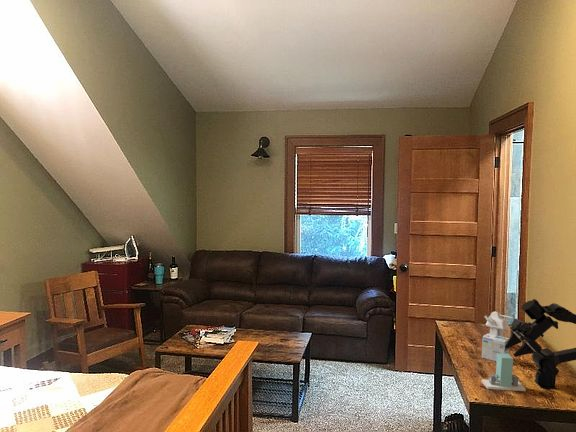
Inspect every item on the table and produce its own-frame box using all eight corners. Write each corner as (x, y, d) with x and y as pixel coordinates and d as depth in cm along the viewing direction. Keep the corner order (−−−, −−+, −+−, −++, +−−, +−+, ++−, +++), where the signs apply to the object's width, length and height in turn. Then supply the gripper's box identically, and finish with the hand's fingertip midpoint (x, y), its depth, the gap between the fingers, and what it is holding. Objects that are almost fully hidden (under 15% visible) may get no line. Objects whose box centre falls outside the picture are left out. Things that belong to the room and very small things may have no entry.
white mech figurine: (506, 353, 229) (509, 317, 228) (479, 346, 238) (481, 312, 237) (514, 347, 238) (516, 313, 237) (487, 340, 247) (489, 307, 246)
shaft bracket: (518, 383, 195) (519, 373, 195) (525, 391, 188) (526, 380, 188) (481, 381, 196) (482, 371, 196) (487, 388, 189) (488, 378, 189)
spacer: (506, 381, 195) (508, 353, 194) (511, 387, 189) (513, 358, 188) (495, 380, 195) (497, 353, 194) (500, 386, 190) (501, 357, 189)
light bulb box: (509, 360, 221) (510, 338, 220) (504, 364, 216) (505, 341, 215) (486, 354, 228) (487, 332, 227) (480, 357, 223) (482, 335, 222)
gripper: (516, 307, 202) (488, 330, 204) (535, 320, 183) (505, 345, 185) (533, 325, 202) (506, 348, 204) (554, 340, 183) (524, 366, 185)
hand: (509, 351), depth 194 cm, fingers open, 9 cm apart
